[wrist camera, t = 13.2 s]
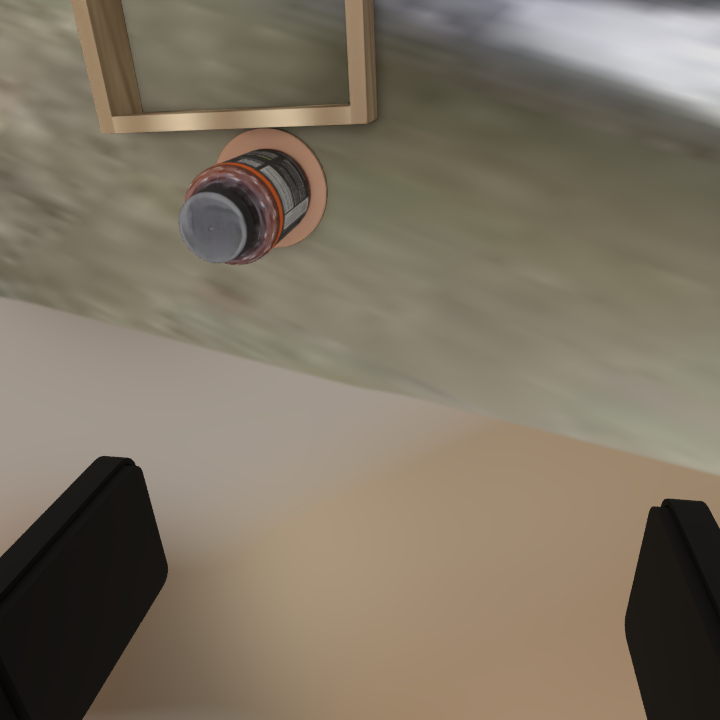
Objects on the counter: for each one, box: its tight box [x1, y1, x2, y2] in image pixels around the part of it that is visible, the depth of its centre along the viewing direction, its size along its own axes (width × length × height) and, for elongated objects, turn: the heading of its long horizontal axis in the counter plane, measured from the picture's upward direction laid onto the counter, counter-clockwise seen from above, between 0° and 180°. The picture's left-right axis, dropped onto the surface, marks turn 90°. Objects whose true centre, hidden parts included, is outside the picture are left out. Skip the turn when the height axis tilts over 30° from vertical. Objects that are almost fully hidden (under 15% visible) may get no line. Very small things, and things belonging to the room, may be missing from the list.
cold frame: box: [71, 0, 377, 134], centre depth 36 cm, size 18×11×4 cm, turn 93°
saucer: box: [216, 128, 327, 248], centre depth 42 cm, size 8×8×1 cm
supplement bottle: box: [179, 149, 311, 265], centre depth 36 cm, size 6×6×11 cm
